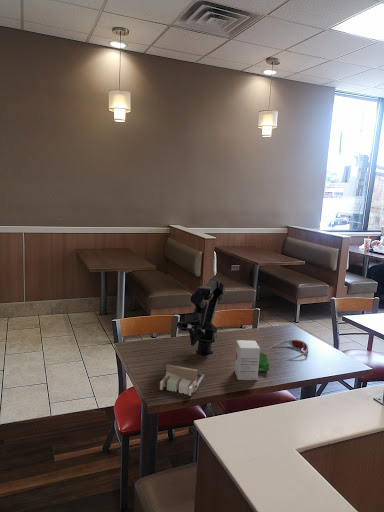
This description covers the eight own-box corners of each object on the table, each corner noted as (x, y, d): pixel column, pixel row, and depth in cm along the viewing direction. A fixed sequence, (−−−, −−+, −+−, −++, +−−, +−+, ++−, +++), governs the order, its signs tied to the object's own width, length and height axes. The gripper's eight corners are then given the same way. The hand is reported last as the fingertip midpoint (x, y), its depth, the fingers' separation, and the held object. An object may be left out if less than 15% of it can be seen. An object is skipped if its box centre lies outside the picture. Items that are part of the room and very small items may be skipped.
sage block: (170, 385, 166) (170, 376, 165) (179, 387, 165) (179, 378, 164) (166, 390, 162) (167, 381, 161) (176, 392, 161) (176, 383, 160)
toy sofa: (165, 381, 167) (166, 364, 166) (197, 387, 164) (198, 369, 162) (158, 390, 160) (159, 372, 159) (191, 396, 156) (192, 378, 155)
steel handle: (176, 370, 180) (176, 369, 180) (204, 375, 176) (204, 374, 176) (164, 386, 165) (164, 385, 165) (194, 392, 161) (194, 391, 161)
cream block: (181, 388, 164) (182, 379, 164) (190, 389, 163) (191, 380, 163) (178, 392, 161) (178, 383, 160) (187, 394, 160) (188, 385, 159)
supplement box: (233, 370, 182) (236, 339, 180) (253, 371, 183) (255, 340, 180) (237, 380, 173) (240, 347, 171) (257, 380, 174) (260, 348, 171)
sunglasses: (315, 357, 202) (315, 348, 201) (287, 367, 196) (287, 357, 195) (294, 344, 218) (294, 336, 216) (268, 353, 212) (267, 344, 211)
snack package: (252, 374, 180) (253, 363, 179) (251, 359, 195) (252, 349, 194) (268, 376, 179) (269, 365, 178) (266, 361, 195) (267, 351, 194)
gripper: (174, 305, 184) (165, 338, 177) (209, 306, 174) (202, 341, 167) (185, 314, 192) (178, 346, 185) (220, 316, 182) (213, 349, 175)
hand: (192, 345), depth 178 cm, fingers closed
